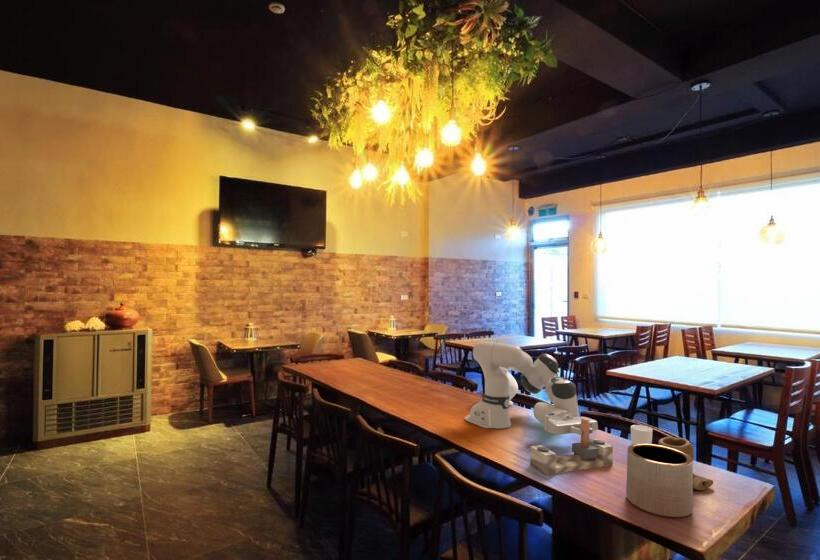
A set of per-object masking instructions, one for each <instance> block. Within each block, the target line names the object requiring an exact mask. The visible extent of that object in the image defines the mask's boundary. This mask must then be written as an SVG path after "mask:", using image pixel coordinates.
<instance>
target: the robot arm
mask: <svg viewBox="0 0 820 560" xmlns="http://www.w3.org/2000/svg"><path fill="white" fill-rule="evenodd" d="M472 356H473V358H474V360H475V361H476V362H477V363H478V364H479V366H480V367H481V370H482V372H483V373H482V374H483V377H484V393H482V394H481V395H480V398H481V400H479V401H478V402H477V403H475V404H474V405H473V406H472V407H471V408H470V412H469V414H468V415H466V416H465V417H464V420H465V421H467V422H469V423H471V424H474V425H476V426H479V427H481V428H484V429H507V428H510V427H512V421H511V418H510V417H511V416H510V410H509V407H510V405H509V395H508V391H509V380H508V378H507V376H506V375H505V374H503V373H502V371H501V370H500V367H499V366H501V367H504V368H506V369H509V370H510V371H513V372H517V373H521V375H520V379H521V385H522V387H523V388H524V389H525V390H526V391H527V392H529V393H531V394H533V395H538V394H539V393H541V391H542V390H543V388H544V392H545V395H546V396H547V398H548V400H549V401H550V402H551V403H553V404H550V403H547V402H544V401H538V402H536V404H535V405H534V406H533V412H532V414H533V416H534V418H535V420H537V422H540V423H541V424H543V425H544V426H543V427H544V431H545V432H547V433H551V434H553V435H557V436H558V435H568V434H575V435H576V434H577V435H579V436H581V435H583V434H584V433H583V432H584V430H582V429H581V418H587V419H589V420H590V426H589V435H590V434H593V433H594V431H598V428H599V427H598V426H599V425H598V421H597V420H596V419H592V418H590V417H587V416H580V414H579V407H578V406H579V404H578V397H577V386H576V384H575V383H574V382H573V381H571V380H568V379H566V378H565V377H564V376H558V374H559V373H560V370H559V363H558V361H557V360H556V358H555V357H553V356H552V355H550V354H548V353H541V354H540V355H538V357H537V359H536V360H535V361H533V358H532V357H531V355H530V354H528V353H527V352H525V351H523V349H522V348H521V347H519V346H516V345H513V344H511V343H504V342H503V343H502V342H495V341H489V340H486V341H478V342H476V344H475V345H474V346H473V348H472ZM509 370H508V371H509Z"/></svg>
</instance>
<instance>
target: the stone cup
mask: <svg viewBox="0 0 820 560" xmlns="http://www.w3.org/2000/svg"><path fill="white" fill-rule="evenodd" d="M657 445H661V446H666V447H670V448H673V449H676V450H679V451H681V452H684V453H686V454H687V455H689V456H690V457H691V458H692V460H693V461H694V457H695V453H694V451H695V450H694V447H693V445H692V443H691V441H689V440H688V439H686V438H684V437H673V436H665V437H662V438H660V439H659V440H658V442H657ZM713 484H714V480H712V479H709V478H707V477H704V476H700V475H698V474H694V473H693V490H697V491H704V490H707V489H709V488H711V486H712V485H713Z"/></svg>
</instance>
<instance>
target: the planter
mask: <svg viewBox="0 0 820 560" xmlns="http://www.w3.org/2000/svg"><path fill="white" fill-rule="evenodd" d="M626 452H627V453H626V454H627V455H626V456H627V457H626V458H627V459H626V484H625V485H626V486H625V487H626V488H625V490H626V491H625V492H626V493H625V494H626V499H628V501H629V502H631V504H633V506H635V507H637V508H638V509H640V510H641V511H644V512H646V513H648V512H649V514H651V515H655V516H658V517H663V518H673V519H676V518H685V517H687V516H689V515H690V514H692V512H693V507H694V489H693V474H694V472H693V471H694V464H693V463H694V459H693V460H692V458H691V457H690V456H689V455H687V454H686V453H684V452H681V451H679V450H676V449H673V448H670V447H666V446H661V445H658V444H653V443H652V444H633V445H629V446H628V447H627V451H626Z"/></svg>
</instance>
